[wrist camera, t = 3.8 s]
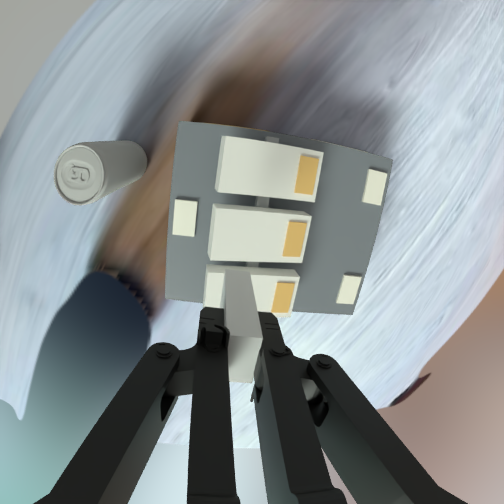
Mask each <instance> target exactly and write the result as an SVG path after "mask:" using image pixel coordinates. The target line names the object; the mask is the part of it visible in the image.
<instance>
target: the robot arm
mask: <svg viewBox="0 0 504 504" xmlns="http://www.w3.org/2000/svg"><path fill="white" fill-rule="evenodd" d="M253 377H254V380H255V384H254V388H253V392H252V395H251V400H250V402H253V399H254V403H255V411H256V419H257V427H258V434H259V442H260V449H261V457H262V464H263V471H264V478H265V486H266V493H267V500H268V504H347V501H346V498H345V496H344V494H343V492H342V491H341V490H340V489H338V488H334V486H333V485H332V483H331V479H330V476H329V472H328V469H327V466H326V463H325V459H324V456H323V452H322V449H323V451H324V452H325V454H326V455H327V457H328V459H329V460H330V462H331V464H332V465H333V467H334V468H335V470H336V472H337V473H338V475H339V476H340V478H341V479H342V481H343V483H344V484H345V486H346V487H347V489H348V490H349V492H350V493H351V495H352V496H353V498H354V500H355V501H356V503H357V504H468V503H466V502H464V501H462V500H460V499H459V498H457V497H455V496H454V495H452V494H451V493H449V492H447V491H446V490H444V489H442V488H441V487H439V486H438V485H437V484H436V483H435V481H434V480H433V479H432V478H431V477H430V475H429V474H428V473H427V472H426V471H425V469H424V468H423V467H422V466H421V464H420V463H419V462H418V461H417V460H416V458H415V457H414V456H413V455H412V453H410V451H409V450H408V449H407V447H406V446H405V445H404V444H403V442H402V441H401V440H400V439H399V438H398V436H397V435H396V434H395V433H394V431H393V430H392V429H391V428H390V427H389V425H388V424H387V423H386V422H385V421H384V419H383V418H382V417H381V416H380V414H379V413H378V412H377V411H376V409H375V408H374V407H373V406H372V405H371V403H370V402H369V401H368V400H367V398H366V397H365V396H364V395H363V393H362V392H361V391H360V390H359V389H358V387H357V386H356V385H355V384H354V382H353V381H352V380H351V379H350V378H349V376H348V375H347V374H346V373H345V371H344V370H343V369H342V368H341V366H340V365H339V364H338V363H337V362H336V360H334V359H333V358H332V357H330V356H328V355H324V354H316V355H313V356H312V357H311V358H310V360H305V359H301V358H298V357H296V356H294V355H293V353H292V351H291V349H290V348H288V347H287V346H285V344H284V340H283V337H282V333H281V330H280V327H279V323H278V320H277V318H276V317H275V315H274V314H273V313H271V312H260V311H258V310H257V305H256V300H255V295H254V290H253V285H252V280H251V275H250V272H247V271H238V270H230V269H225V274H224V281H223V288H222V295H221V302H220V308H214V307H206V306H205V307H204V308H203V309H202V310H201V311H200V320H199V329H198V337H197V343H196V344H195V346H193V347H192V348H189V349H186V350H179V349H178V348H177V347H176V346H174V345H172V344H170V343H165V342H161V343H156V344H153V345H152V346H150V347H149V349H148V350H147V351H146V353H145V354H144V356H143V357H142V358H141V360H140V361H139V362H138V364H137V366H136V367H135V368H134V370H133V371H132V372H131V374H130V375H129V377H128V378H127V379H126V381H125V382H124V384H123V385H122V387H121V388H120V389H119V391H118V392H117V394H116V395H115V397H114V398H113V399H112V401H111V402H110V404H109V405H108V407H107V408H106V409H105V411H104V412H103V414H102V415H101V417H100V418H99V420H98V421H97V423H96V424H95V425H94V427H93V428H92V430H91V431H90V433H89V434H88V436H87V437H86V439H85V440H84V442H83V443H82V445H81V446H80V448H79V449H78V451H77V452H76V454H75V455H74V457H73V458H72V460H71V461H70V463H69V464H68V466H67V467H66V469H65V470H64V472H63V473H62V475H61V477H60V478H59V480H58V481H57V483H56V484H55V486H54V487H53V489H52V490H51V492H50V493H49V494H48V495H46V496H45V497H43V498H42V499H40V500H38V501H37V502H35V503H34V504H128V502H129V500H130V497H131V495H132V493H133V491H134V489H135V487H136V485H137V483H138V480H139V479H140V476H141V474H142V472H143V470H144V468H145V466H146V463H147V462H148V460H149V457H150V456H151V453H152V451H153V449H154V447H155V445H156V443H157V441H158V439H159V437H160V435H161V433H162V431H163V429H164V426H165V424H166V422H167V420H168V418H169V416H170V414H171V412H172V410H173V408H174V406H175V404H176V402H177V399H178V396H180V395H188V394H193V395H192V408H191V423H190V440H189V460H188V487H187V504H240V499H239V497H238V496H237V493H236V482H235V469H234V454H233V439H232V423H231V406H230V387H229V382H240V383H252V381H253ZM321 447H322V449H321Z"/></svg>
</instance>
